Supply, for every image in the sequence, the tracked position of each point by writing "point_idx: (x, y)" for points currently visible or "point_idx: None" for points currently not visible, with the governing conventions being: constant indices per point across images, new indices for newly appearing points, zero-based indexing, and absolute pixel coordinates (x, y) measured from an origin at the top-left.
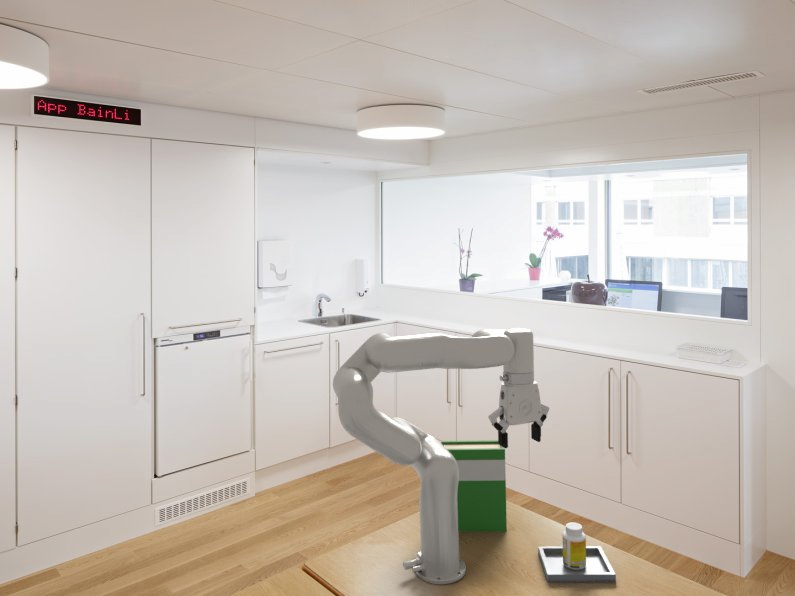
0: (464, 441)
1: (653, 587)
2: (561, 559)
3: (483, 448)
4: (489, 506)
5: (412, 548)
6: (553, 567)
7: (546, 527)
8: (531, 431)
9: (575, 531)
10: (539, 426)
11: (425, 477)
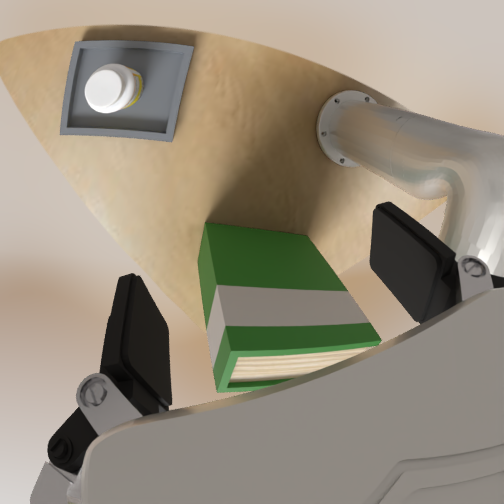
0: None
1: (37, 36)
2: (139, 108)
3: (289, 354)
4: (243, 251)
5: (364, 197)
6: (165, 83)
7: (130, 227)
8: (168, 362)
9: (108, 69)
10: (110, 373)
11: None
